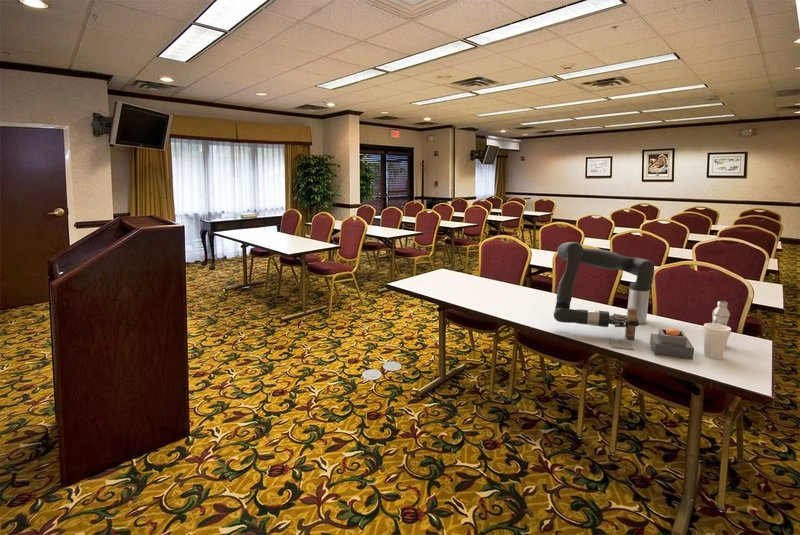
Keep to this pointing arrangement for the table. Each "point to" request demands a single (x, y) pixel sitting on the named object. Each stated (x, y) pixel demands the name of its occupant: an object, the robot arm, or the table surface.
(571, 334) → the table surface
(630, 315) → the stick
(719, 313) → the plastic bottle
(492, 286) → the table surface
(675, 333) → the breaker button
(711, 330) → the foam cup
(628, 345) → the mat
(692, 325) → the table surface
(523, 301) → the table surface
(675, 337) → the grey button housing
